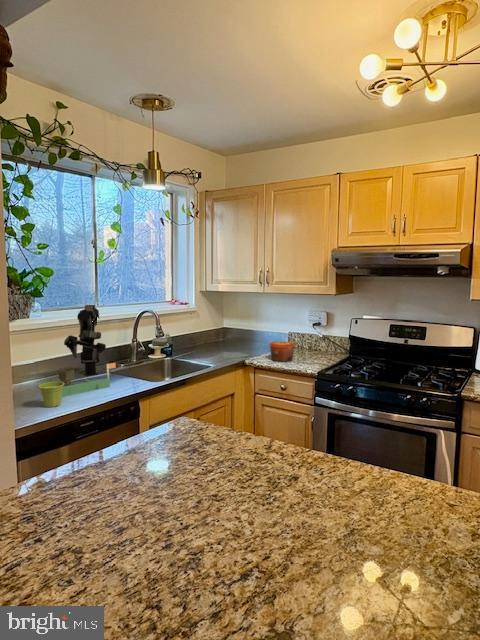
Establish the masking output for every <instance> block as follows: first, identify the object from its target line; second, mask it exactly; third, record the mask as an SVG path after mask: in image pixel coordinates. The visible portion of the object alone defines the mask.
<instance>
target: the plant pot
mask: <svg viewBox="0 0 480 640" xmlns="http://www.w3.org/2000/svg"><path fill="white" fill-rule="evenodd" d="M64 386H65V385H64V383H63V382H62V381H47V382H44V383H40V384H39V385H38V387H39V389H40V392H41V397H42V400H43V405H44V407H46V408H55V407H59V406H61V405H62V389H63V387H64Z"/></svg>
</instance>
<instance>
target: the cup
mask: <svg viewBox="0 0 480 640" xmlns="http://www.w3.org/2000/svg"><path fill="white" fill-rule="evenodd" d="M57 372H58V373H57V374H58V377H59V380H60V381H59V382H63V383H64V385H63V386H70V385H72V381H73V380H74V379H75V367H68V366H67V367H63V368H62V367H60V368H59V369H57Z"/></svg>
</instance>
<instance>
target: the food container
mask: <svg viewBox="0 0 480 640" xmlns="http://www.w3.org/2000/svg"><path fill="white" fill-rule="evenodd" d="M269 347H270V356H271V361H273V360H274V361H273V362H276V361H278V362H279V363H289V361H290V362H292V361H293V358H294V351H295V347H296V344H295V343H294V342H292V341H283V340H282V341H281V340H280V341H271V342H270V343H269ZM278 362H277V363H278Z"/></svg>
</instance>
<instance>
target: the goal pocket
mask: <svg viewBox="0 0 480 640" xmlns="http://www.w3.org/2000/svg"><path fill="white" fill-rule="evenodd" d="M116 364H117V363H116V362H111V363H106V364H105V365H106V378H102V379H96V380H89V379H87V378H86V379H83V382H81V383H76V384H70V385H67V386H65V385H63V389H62V397H67V396H72V395H77V394H82V393H86V392H92V391H96V390H101V389H107V388H110V387H111V382H110V369H116V367H117V366H116Z"/></svg>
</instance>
